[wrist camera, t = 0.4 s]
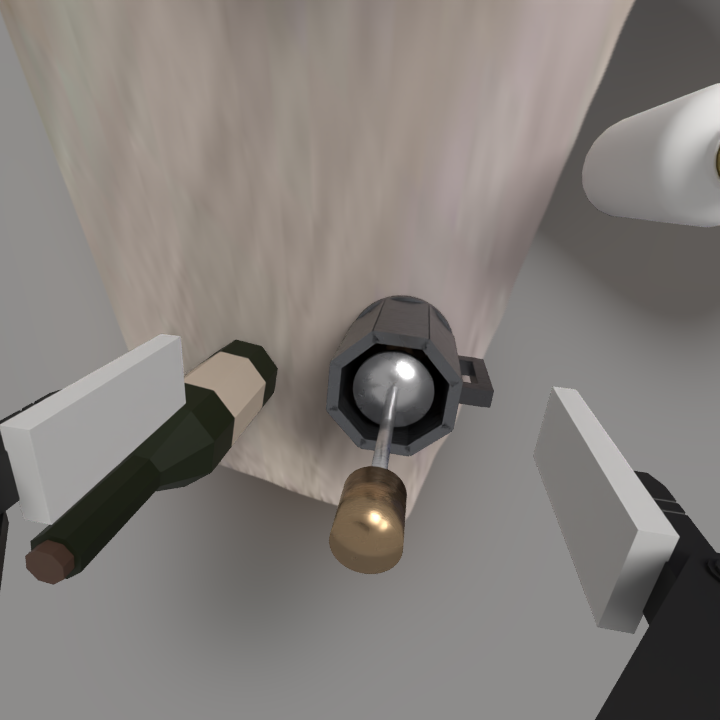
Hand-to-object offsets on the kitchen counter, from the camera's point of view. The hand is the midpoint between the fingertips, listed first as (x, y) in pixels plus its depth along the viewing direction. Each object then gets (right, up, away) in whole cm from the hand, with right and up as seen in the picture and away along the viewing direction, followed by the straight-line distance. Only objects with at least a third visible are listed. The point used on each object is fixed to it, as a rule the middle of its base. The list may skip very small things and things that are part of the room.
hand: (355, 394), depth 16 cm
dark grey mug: (+6, +2, +33) cm, 34 cm away
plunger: (+3, -1, +23) cm, 24 cm away
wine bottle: (-14, 0, +38) cm, 40 cm away
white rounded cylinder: (+25, +19, +25) cm, 40 cm away
